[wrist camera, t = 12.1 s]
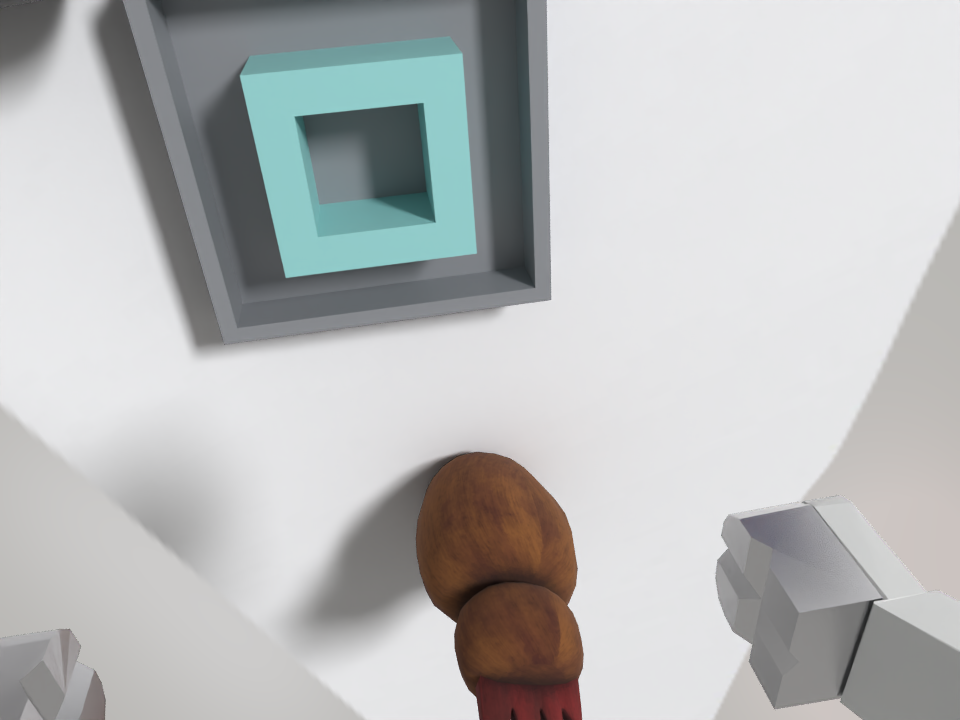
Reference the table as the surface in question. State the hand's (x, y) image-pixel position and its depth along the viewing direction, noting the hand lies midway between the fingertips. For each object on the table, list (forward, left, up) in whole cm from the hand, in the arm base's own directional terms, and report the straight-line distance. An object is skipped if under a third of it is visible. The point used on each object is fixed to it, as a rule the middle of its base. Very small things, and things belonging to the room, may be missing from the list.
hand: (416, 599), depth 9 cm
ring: (0, 0, -20) cm, 20 cm away
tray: (0, 0, -21) cm, 21 cm away
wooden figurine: (+17, +3, -21) cm, 27 cm away
